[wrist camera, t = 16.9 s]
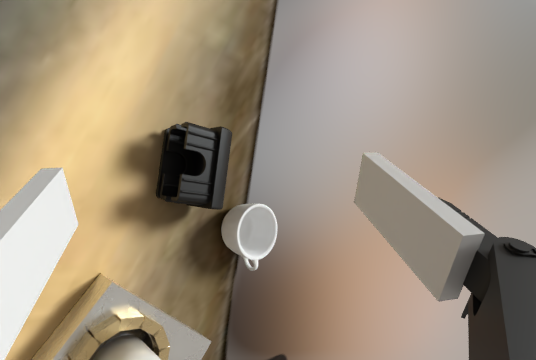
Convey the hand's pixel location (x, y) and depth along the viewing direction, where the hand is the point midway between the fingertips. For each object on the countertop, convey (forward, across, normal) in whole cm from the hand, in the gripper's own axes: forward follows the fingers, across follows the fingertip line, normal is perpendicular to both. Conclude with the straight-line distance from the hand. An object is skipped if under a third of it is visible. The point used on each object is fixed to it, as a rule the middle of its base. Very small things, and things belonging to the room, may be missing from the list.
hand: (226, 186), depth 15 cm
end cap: (+28, -4, -11) cm, 30 cm away
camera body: (+14, -12, -29) cm, 34 cm away
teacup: (+27, +3, -23) cm, 36 cm away
